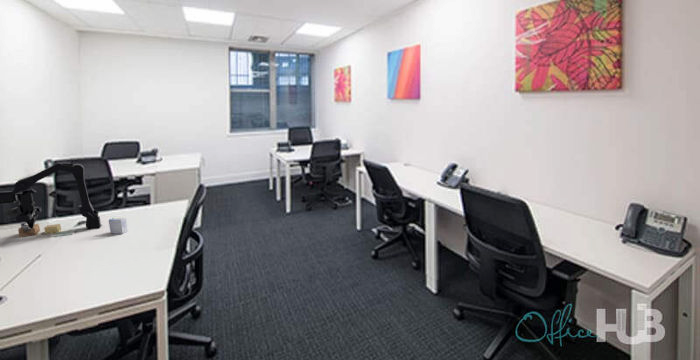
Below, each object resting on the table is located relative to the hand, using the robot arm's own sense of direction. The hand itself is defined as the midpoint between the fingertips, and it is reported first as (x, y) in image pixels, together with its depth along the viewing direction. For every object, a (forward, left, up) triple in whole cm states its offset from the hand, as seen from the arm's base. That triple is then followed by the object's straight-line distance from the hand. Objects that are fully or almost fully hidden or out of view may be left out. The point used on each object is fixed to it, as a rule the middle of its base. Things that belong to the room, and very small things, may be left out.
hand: (31, 228), depth 190 cm
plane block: (+3, -7, -5) cm, 9 cm away
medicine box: (-43, +12, -6) cm, 44 cm away
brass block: (-8, -5, -6) cm, 11 cm away
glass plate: (-15, +1, -5) cm, 16 cm away
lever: (+3, -1, 0) cm, 3 cm away
